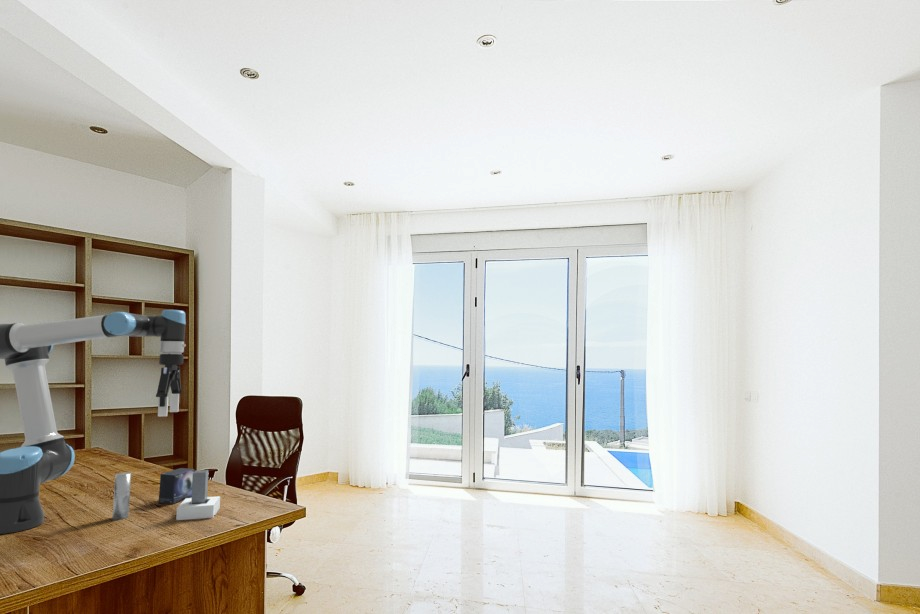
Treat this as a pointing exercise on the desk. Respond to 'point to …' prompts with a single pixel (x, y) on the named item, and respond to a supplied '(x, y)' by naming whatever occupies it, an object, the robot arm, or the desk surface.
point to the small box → (175, 485)
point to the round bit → (121, 496)
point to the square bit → (199, 487)
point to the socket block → (198, 509)
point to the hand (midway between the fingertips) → (168, 414)
